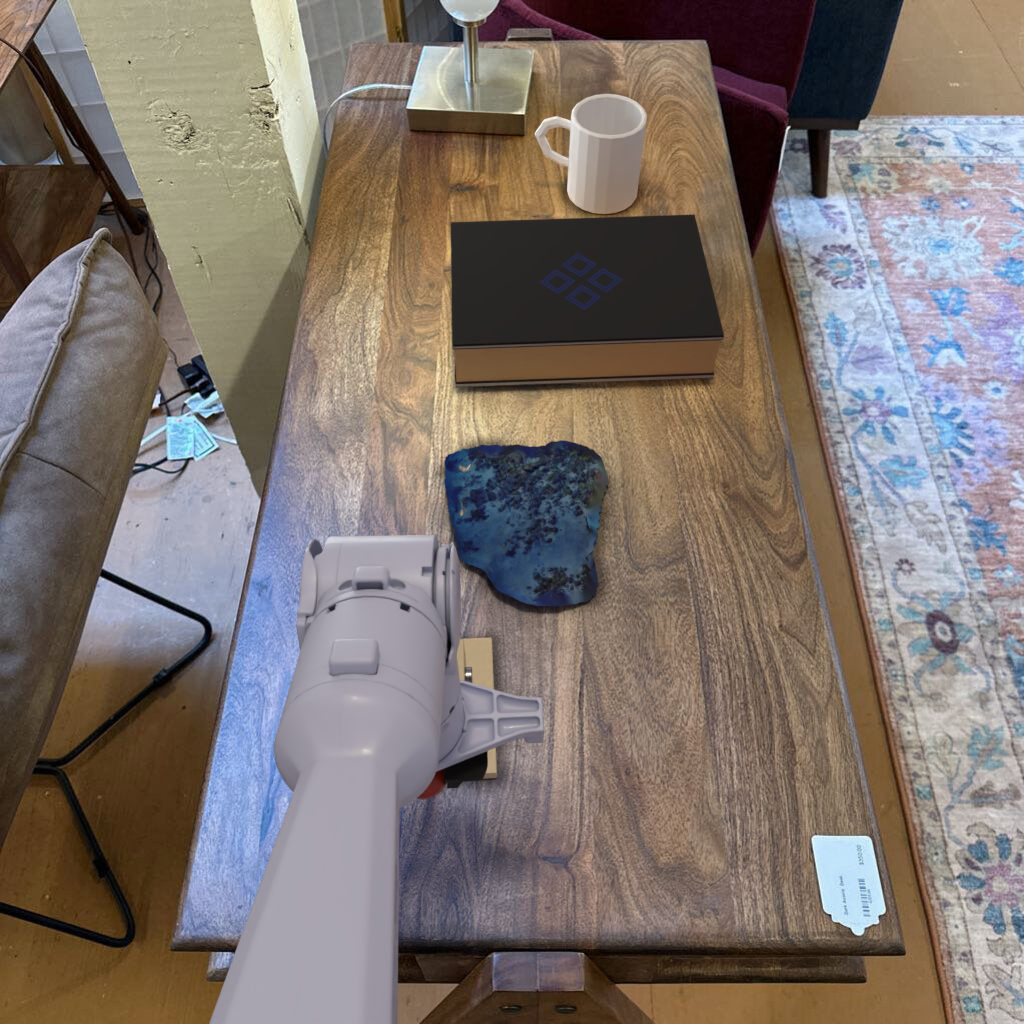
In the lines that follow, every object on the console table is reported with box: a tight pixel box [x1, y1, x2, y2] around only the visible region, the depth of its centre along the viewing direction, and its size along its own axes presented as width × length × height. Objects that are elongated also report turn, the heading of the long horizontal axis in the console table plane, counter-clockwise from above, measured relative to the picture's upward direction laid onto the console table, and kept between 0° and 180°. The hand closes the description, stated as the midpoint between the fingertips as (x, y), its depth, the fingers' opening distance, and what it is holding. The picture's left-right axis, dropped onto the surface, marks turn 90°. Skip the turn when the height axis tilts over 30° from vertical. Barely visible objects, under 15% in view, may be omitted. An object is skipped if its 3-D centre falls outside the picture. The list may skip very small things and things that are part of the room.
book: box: [450, 214, 725, 389], centre depth 92 cm, size 17×25×7 cm
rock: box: [443, 439, 610, 608], centre depth 80 cm, size 15×17×2 cm
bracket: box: [457, 637, 498, 780], centre depth 68 cm, size 11×9×8 cm
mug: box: [534, 93, 648, 215], centre depth 103 cm, size 8×12×10 cm
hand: (426, 773), depth 59 cm, fingers closed on lever, 3 cm apart
